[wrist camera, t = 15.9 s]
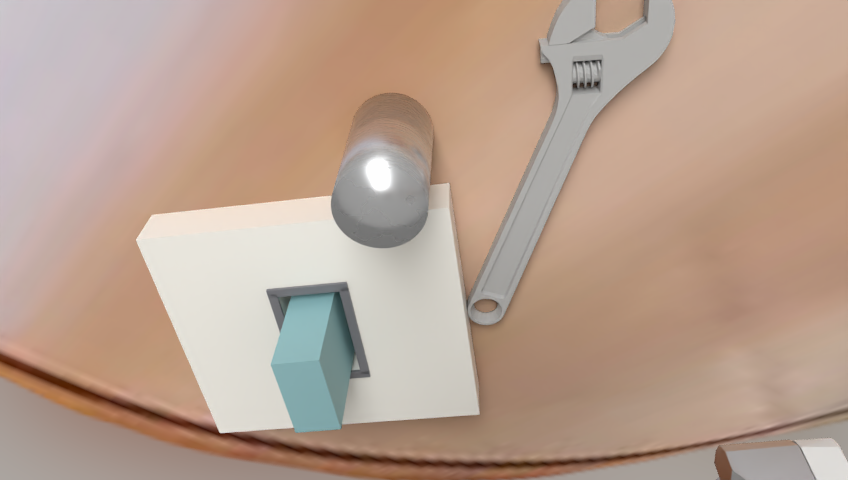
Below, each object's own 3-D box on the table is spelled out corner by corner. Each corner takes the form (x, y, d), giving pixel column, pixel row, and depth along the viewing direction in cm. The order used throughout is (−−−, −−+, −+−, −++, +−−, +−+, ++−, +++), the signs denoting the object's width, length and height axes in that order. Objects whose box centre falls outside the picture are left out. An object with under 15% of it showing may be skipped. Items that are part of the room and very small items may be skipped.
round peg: (427, 88, 44) (420, 159, 36) (438, 162, 46) (434, 243, 39) (344, 98, 44) (321, 170, 37) (360, 171, 47) (341, 252, 40)
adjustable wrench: (497, 316, 54) (498, 332, 53) (414, 288, 53) (413, 304, 51) (686, -7, 40) (695, 3, 39) (580, -53, 39) (585, -45, 38)
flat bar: (339, 270, 52) (319, 360, 44) (357, 335, 55) (341, 429, 47) (297, 274, 52) (270, 364, 44) (317, 339, 55) (295, 432, 48)
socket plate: (449, 183, 47) (448, 209, 45) (478, 385, 57) (479, 416, 54) (152, 214, 50) (134, 241, 47) (229, 404, 59) (219, 435, 57)
